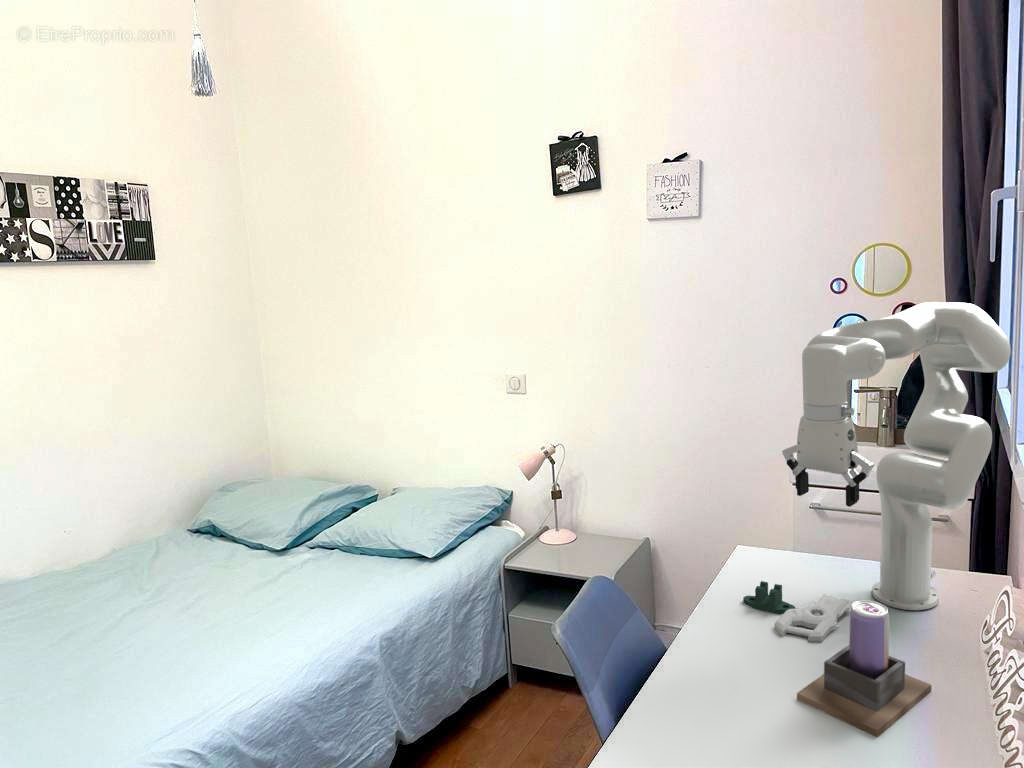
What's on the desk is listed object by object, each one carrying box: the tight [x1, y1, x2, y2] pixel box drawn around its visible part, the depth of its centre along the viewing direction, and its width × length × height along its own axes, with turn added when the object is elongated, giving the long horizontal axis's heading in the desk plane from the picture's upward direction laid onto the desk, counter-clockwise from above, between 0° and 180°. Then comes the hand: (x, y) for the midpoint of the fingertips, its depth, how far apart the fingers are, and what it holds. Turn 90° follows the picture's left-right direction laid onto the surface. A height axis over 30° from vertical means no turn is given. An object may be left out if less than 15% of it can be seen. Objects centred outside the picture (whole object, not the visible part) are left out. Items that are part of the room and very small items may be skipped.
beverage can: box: [849, 599, 890, 680], centre depth 129 cm, size 6×6×15 cm
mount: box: [742, 580, 796, 615], centre depth 163 cm, size 11×4×5 cm, turn 53°
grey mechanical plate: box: [774, 593, 852, 642], centre depth 156 cm, size 18×3×10 cm
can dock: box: [796, 643, 932, 738], centre depth 131 cm, size 18×14×6 cm
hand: (826, 498), depth 145 cm, fingers open, 9 cm apart
